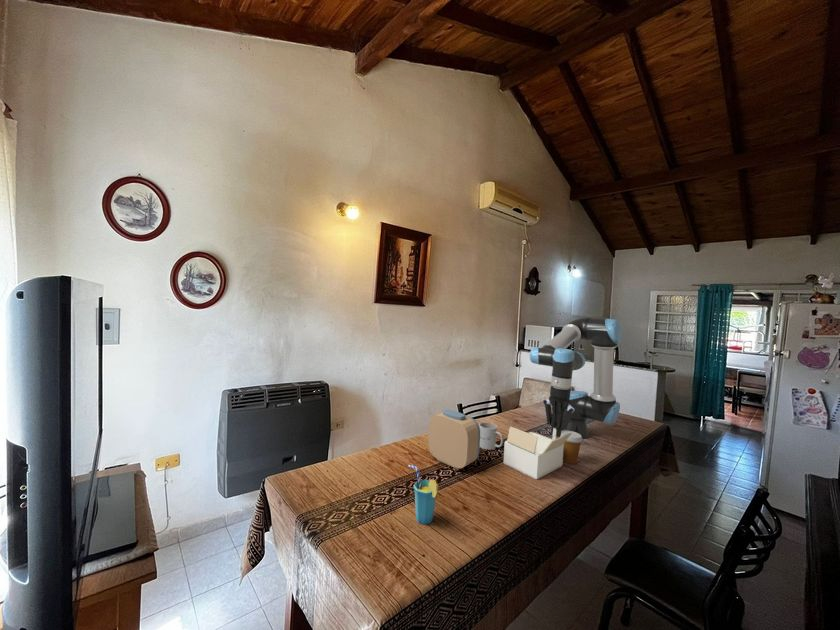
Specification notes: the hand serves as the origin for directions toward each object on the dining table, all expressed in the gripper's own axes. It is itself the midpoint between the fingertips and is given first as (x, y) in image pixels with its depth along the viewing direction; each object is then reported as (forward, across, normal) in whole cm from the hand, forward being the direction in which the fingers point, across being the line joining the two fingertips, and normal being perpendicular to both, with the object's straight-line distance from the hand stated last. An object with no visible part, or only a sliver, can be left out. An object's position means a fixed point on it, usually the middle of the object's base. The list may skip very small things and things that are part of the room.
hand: (555, 443), depth 136 cm
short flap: (0, -9, -9) cm, 13 cm away
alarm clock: (+14, -30, -28) cm, 43 cm away
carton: (+13, -9, 0) cm, 16 cm away
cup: (+14, -8, -62) cm, 64 cm away
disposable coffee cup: (+13, -2, +18) cm, 22 cm away
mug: (+14, -31, -2) cm, 34 cm away
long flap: (-1, +1, 0) cm, 1 cm away
